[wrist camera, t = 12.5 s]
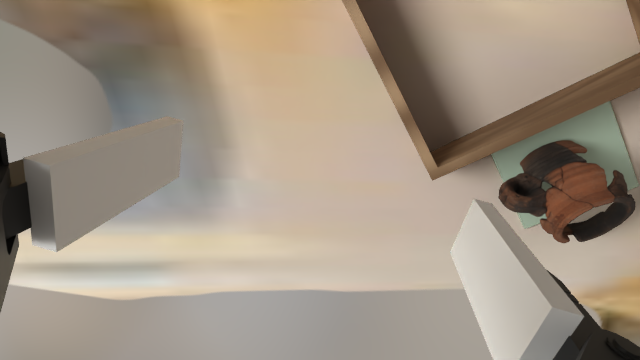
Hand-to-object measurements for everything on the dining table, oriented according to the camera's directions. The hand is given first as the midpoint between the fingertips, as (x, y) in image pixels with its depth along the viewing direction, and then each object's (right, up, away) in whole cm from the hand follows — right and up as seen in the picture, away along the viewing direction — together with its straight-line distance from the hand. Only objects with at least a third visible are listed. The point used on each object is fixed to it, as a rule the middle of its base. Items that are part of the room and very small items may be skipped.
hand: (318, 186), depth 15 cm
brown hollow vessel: (+24, +2, +24) cm, 34 cm away
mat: (+27, +2, +22) cm, 35 cm away
